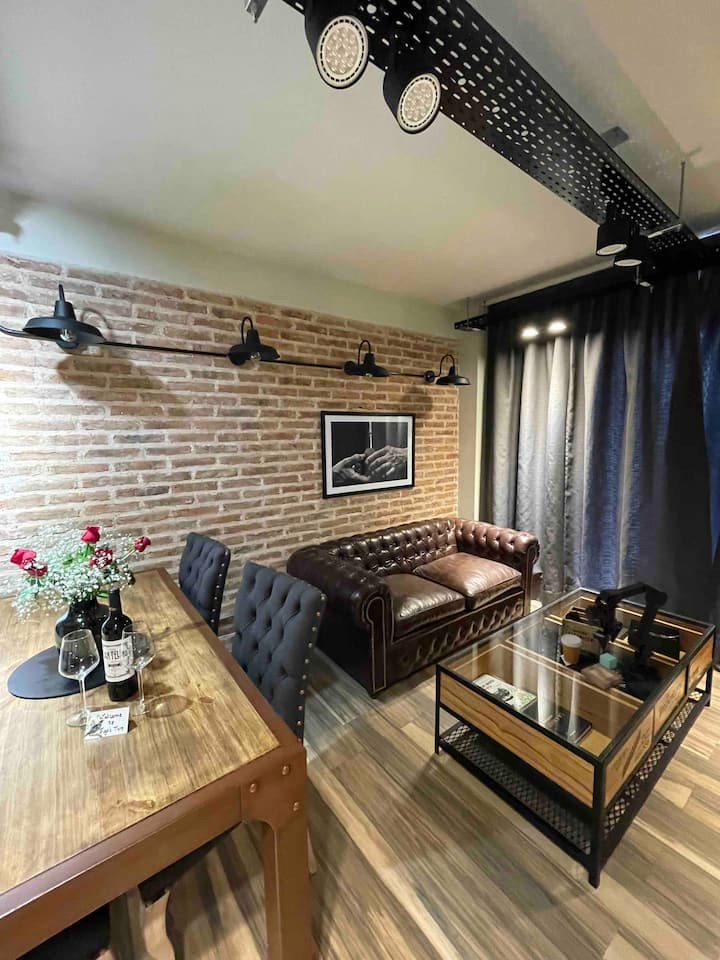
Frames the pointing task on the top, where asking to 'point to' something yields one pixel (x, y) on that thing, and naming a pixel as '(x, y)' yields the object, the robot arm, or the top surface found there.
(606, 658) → the teal cube
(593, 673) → the walnut base
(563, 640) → the disposable coffee cup
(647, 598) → the robot arm
